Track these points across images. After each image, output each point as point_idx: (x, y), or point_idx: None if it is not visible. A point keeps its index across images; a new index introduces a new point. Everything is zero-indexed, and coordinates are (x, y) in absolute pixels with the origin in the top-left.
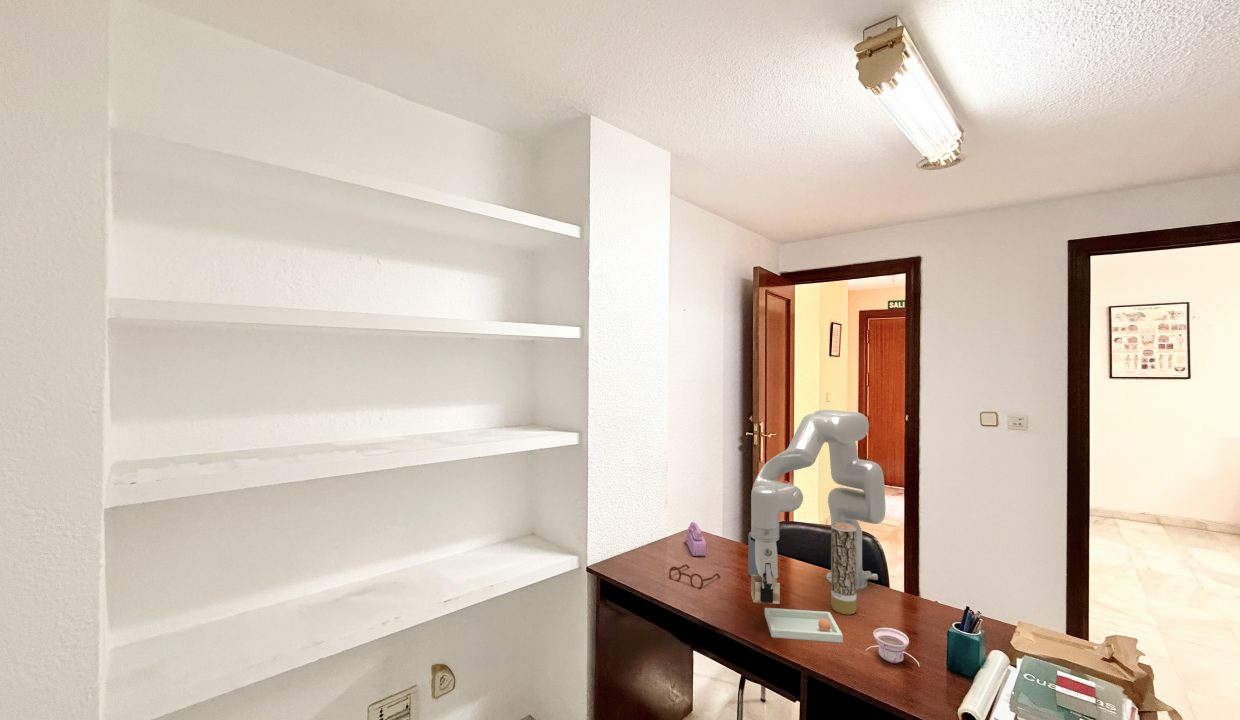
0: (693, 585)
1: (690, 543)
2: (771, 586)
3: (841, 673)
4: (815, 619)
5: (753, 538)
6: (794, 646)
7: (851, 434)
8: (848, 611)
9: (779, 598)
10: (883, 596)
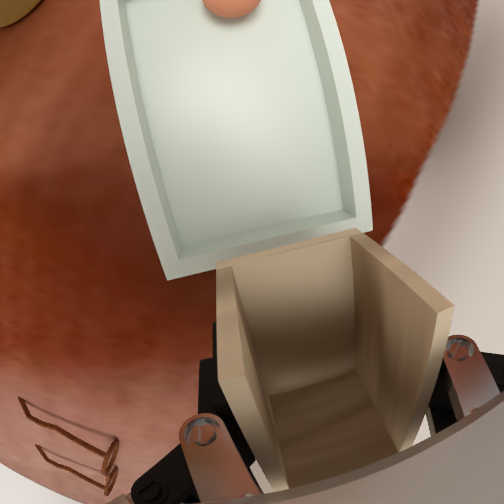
0: (114, 452)
1: None
2: (476, 355)
3: (452, 26)
4: (132, 41)
5: None
6: (377, 132)
7: None
8: None
9: (373, 243)
10: None
